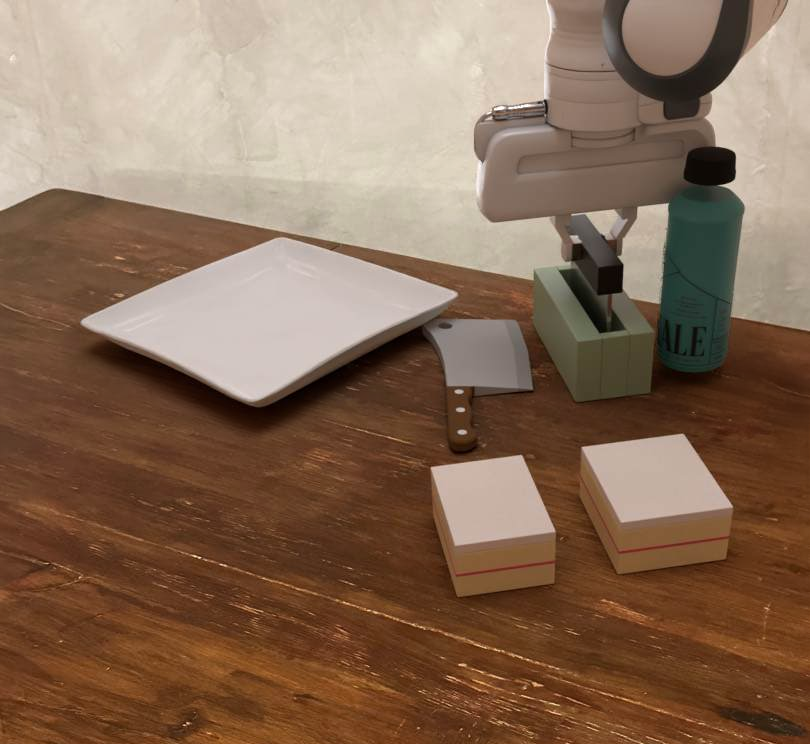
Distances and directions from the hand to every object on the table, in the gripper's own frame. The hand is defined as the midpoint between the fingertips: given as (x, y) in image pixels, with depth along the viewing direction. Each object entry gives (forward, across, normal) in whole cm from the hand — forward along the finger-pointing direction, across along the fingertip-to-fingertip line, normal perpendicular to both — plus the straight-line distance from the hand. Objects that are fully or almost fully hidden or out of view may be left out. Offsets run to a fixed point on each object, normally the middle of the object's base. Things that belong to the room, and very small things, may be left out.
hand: (591, 256), depth 100 cm
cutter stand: (+10, 0, 0) cm, 10 cm away
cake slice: (+10, -15, -27) cm, 32 cm away
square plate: (+10, -29, +12) cm, 33 cm away
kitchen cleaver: (+10, -11, -2) cm, 15 cm away
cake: (+10, -3, -27) cm, 29 cm away
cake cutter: (+10, 0, 0) cm, 10 cm away
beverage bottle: (+10, +8, -5) cm, 14 cm away
